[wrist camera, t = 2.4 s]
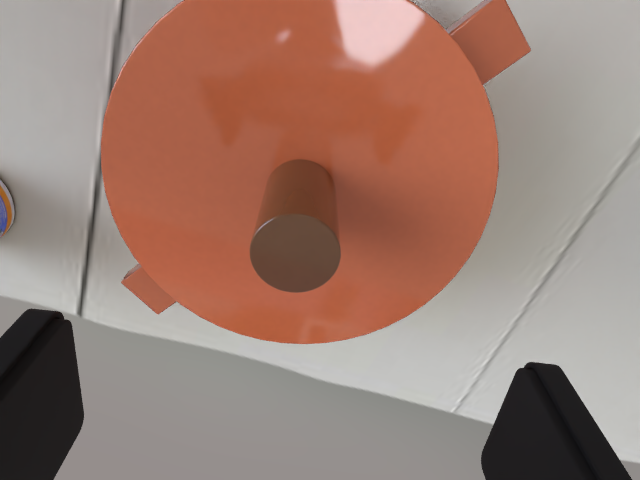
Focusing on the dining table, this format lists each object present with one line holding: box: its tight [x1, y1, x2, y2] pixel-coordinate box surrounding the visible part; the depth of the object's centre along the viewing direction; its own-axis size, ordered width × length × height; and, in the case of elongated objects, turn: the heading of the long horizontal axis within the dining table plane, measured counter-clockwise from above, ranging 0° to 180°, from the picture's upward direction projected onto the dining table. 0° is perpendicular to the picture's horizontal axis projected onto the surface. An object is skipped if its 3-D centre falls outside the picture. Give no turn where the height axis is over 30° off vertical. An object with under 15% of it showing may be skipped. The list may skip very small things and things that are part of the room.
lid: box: [101, 0, 499, 344], centre depth 17 cm, size 16×16×6 cm
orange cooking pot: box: [121, 0, 531, 314], centre depth 23 cm, size 15×20×8 cm
